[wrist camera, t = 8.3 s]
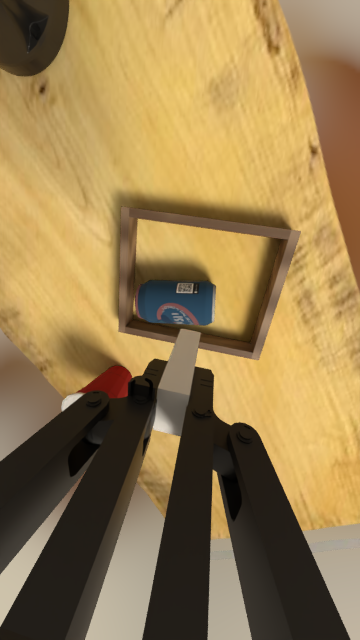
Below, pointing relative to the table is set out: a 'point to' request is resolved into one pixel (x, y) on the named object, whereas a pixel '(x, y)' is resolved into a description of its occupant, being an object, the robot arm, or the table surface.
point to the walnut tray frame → (132, 214)
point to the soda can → (176, 302)
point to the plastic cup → (104, 385)
